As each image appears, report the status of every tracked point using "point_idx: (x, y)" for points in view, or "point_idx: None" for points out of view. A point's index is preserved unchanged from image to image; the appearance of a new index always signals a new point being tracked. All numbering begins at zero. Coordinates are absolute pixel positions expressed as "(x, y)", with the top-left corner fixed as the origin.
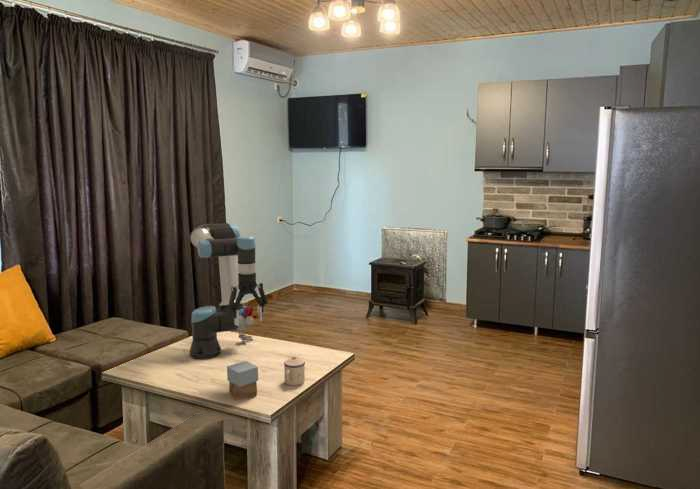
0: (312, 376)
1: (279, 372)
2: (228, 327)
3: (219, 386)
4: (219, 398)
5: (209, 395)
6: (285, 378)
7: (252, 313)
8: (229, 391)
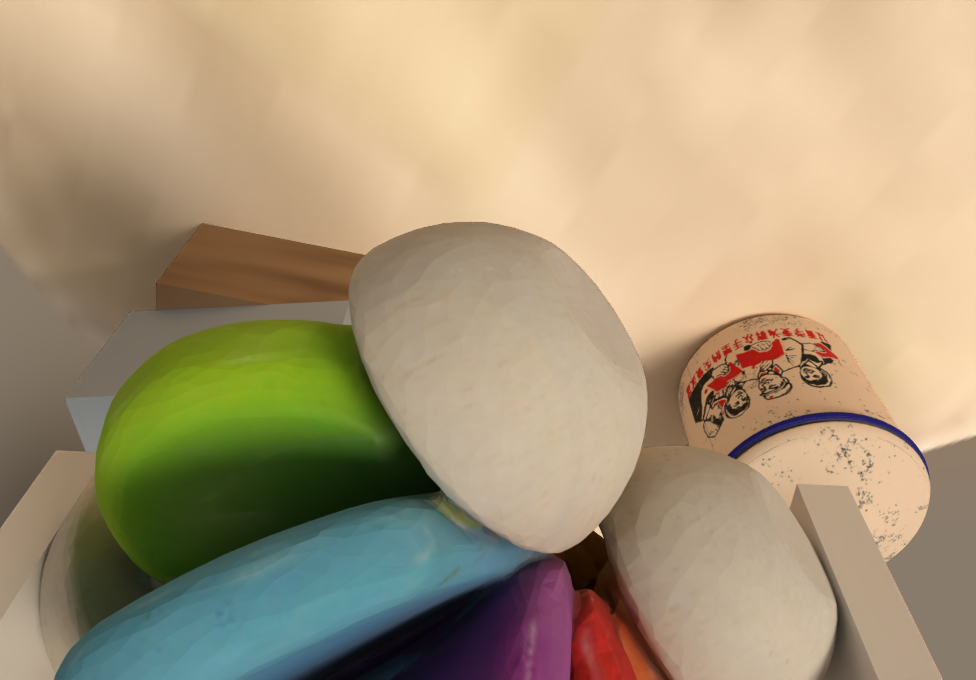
0: (951, 391)
1: (821, 132)
2: None
3: (146, 56)
4: (87, 287)
5: (15, 184)
6: (688, 402)
7: (666, 670)
8: (201, 225)
